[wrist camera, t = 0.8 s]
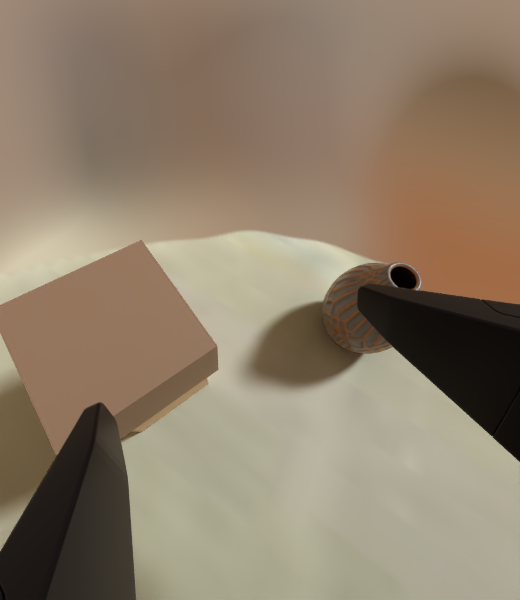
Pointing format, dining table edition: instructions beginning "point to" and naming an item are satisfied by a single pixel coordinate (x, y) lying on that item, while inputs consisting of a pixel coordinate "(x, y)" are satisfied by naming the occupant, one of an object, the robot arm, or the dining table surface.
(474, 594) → the dining table surface
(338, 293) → the vase
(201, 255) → the dining table surface
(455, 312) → the robot arm
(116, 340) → the lid
